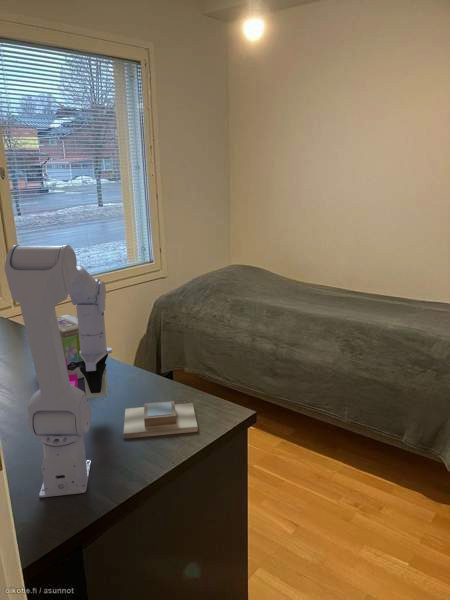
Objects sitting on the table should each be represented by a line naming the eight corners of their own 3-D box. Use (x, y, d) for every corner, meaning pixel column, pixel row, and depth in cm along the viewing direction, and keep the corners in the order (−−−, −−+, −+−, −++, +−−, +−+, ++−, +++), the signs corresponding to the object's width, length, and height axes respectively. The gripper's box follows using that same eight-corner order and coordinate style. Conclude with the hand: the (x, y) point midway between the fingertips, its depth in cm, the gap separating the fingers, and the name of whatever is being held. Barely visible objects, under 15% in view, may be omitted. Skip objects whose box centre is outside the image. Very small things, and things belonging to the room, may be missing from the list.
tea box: (100, 372, 134) (96, 323, 130) (67, 383, 127) (61, 332, 123) (75, 358, 144) (70, 312, 140) (43, 367, 138) (37, 319, 134)
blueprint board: (197, 431, 104) (197, 418, 103) (123, 438, 101) (122, 424, 100) (192, 407, 114) (192, 395, 113) (125, 413, 112) (124, 400, 111)
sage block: (106, 396, 107) (105, 376, 105) (86, 398, 106) (84, 378, 105) (108, 388, 111) (106, 368, 110) (88, 389, 110) (86, 370, 109)
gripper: (108, 341, 98) (112, 400, 102) (112, 320, 112) (116, 373, 116) (73, 344, 97) (79, 403, 101) (82, 322, 111) (86, 375, 115)
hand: (96, 387), depth 108 cm, fingers closed on sage block, 4 cm apart
